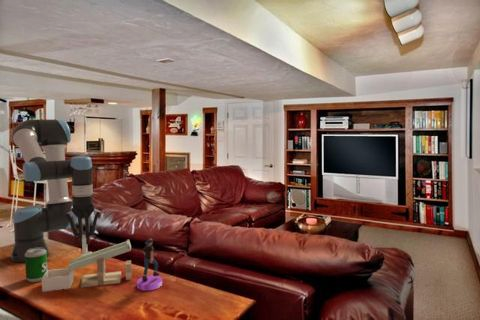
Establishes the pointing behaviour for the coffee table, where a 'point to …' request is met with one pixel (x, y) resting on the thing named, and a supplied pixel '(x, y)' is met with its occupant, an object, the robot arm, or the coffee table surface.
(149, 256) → the figurine
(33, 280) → the soda can
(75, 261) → the lever
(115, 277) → the stand
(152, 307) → the coffee table surface
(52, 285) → the dish
